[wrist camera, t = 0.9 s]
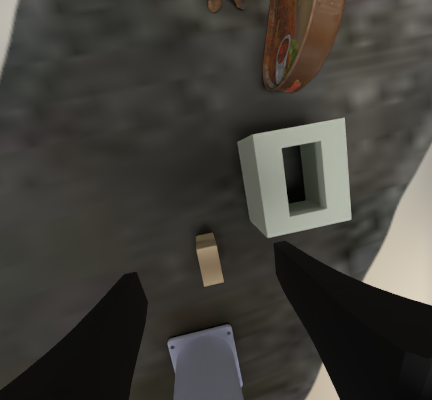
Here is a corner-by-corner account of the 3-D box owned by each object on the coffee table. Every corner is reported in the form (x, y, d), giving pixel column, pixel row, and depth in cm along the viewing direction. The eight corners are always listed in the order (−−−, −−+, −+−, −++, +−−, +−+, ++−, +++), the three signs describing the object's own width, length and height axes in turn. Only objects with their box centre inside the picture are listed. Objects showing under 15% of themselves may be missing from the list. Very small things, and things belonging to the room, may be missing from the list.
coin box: (314, 206, 25) (351, 219, 19) (249, 220, 25) (267, 238, 19) (306, 129, 24) (344, 117, 18) (237, 141, 23) (252, 134, 17)
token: (218, 263, 25) (223, 282, 21) (202, 267, 25) (204, 286, 21) (212, 232, 25) (216, 245, 21) (195, 235, 24) (196, 249, 20)
